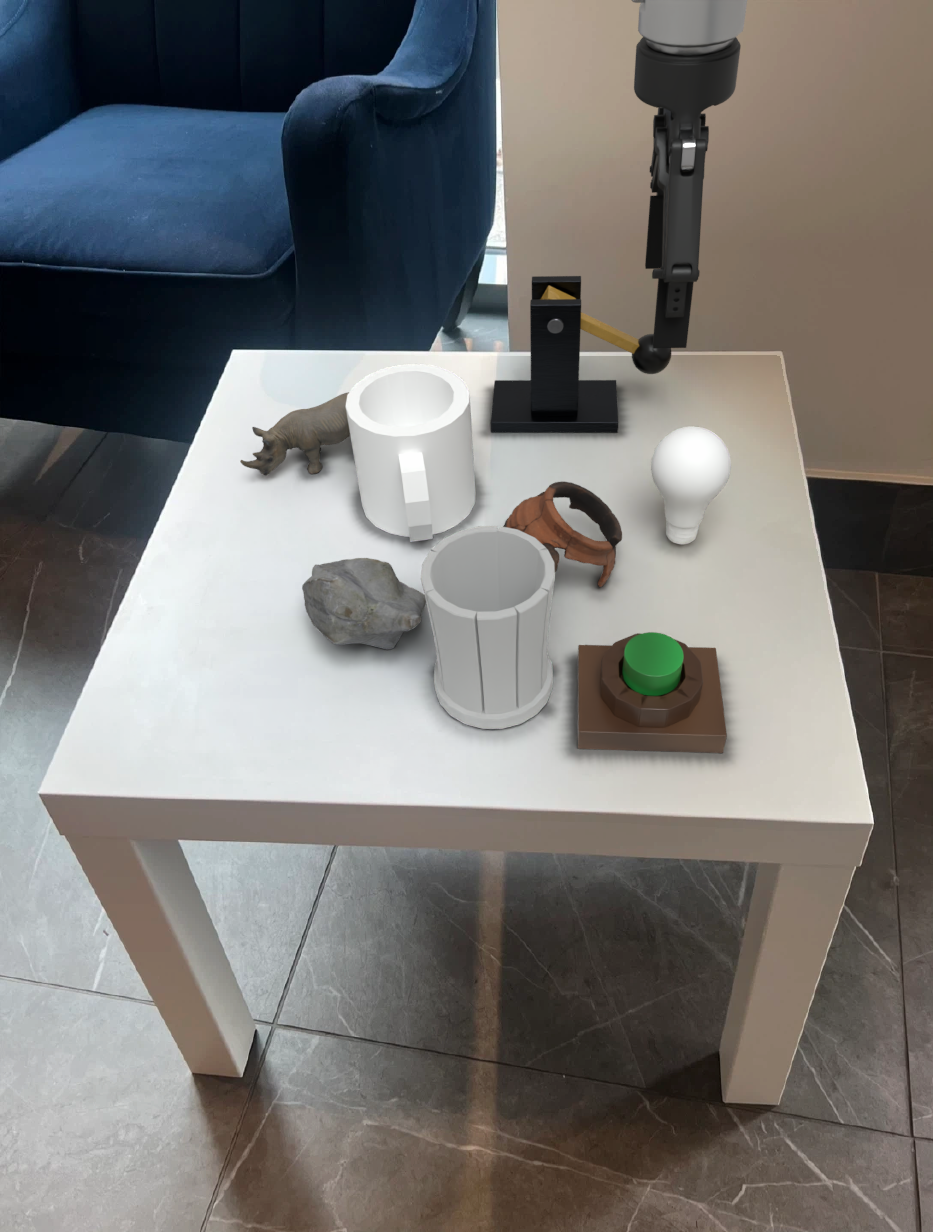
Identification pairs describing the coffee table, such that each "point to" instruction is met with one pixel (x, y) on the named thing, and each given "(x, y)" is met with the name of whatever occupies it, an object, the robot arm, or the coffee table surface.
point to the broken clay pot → (554, 532)
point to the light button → (652, 664)
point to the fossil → (361, 602)
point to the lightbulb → (689, 477)
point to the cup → (490, 624)
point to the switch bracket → (555, 373)
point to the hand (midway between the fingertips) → (664, 304)
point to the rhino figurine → (302, 435)
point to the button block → (649, 704)
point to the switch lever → (622, 339)
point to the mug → (413, 449)
